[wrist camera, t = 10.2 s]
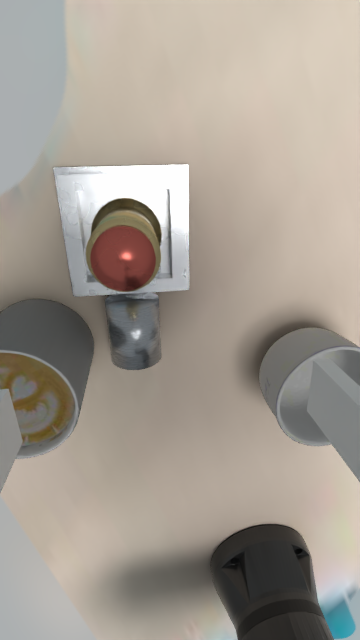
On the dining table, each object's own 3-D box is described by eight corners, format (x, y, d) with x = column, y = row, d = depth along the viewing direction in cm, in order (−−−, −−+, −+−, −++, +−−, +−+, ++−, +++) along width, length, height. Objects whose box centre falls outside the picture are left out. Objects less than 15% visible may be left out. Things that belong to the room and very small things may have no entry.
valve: (162, 264, 32) (173, 302, 22) (96, 268, 31) (80, 308, 22) (159, 196, 29) (169, 207, 20) (88, 198, 28) (65, 211, 19)
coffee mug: (75, 288, 32) (51, 334, 23) (106, 374, 36) (96, 442, 27) (-65, 321, 32) (-145, 381, 23) (-17, 404, 36) (-69, 483, 27)
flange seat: (188, 341, 36) (196, 365, 31) (82, 349, 35) (75, 374, 30) (187, 164, 29) (196, 163, 25) (54, 167, 28) (39, 166, 23)
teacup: (230, 361, 37) (253, 406, 30) (308, 294, 35) (353, 326, 28) (300, 425, 43) (334, 478, 35) (371, 370, 40) (423, 414, 33)
